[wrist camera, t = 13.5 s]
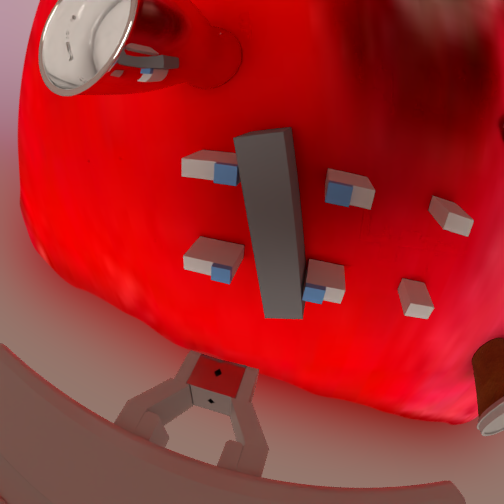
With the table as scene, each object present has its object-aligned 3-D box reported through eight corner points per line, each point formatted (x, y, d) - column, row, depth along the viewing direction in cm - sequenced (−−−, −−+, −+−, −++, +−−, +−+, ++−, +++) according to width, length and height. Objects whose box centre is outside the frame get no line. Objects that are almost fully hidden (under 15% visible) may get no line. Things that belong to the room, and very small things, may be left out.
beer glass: (236, 100, 21) (119, 104, 8) (166, 88, 21) (28, 101, 9) (256, 28, 17) (163, -52, 5) (183, 22, 18) (54, -17, 5)
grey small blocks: (455, 203, 20) (477, 223, 16) (418, 294, 25) (428, 323, 22) (202, 149, 24) (178, 159, 20) (200, 248, 29) (181, 272, 25)
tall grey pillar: (291, 126, 21) (283, 131, 17) (307, 286, 29) (302, 319, 24) (251, 131, 22) (233, 138, 18) (274, 286, 30) (265, 317, 25)
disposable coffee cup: (480, 330, 25) (507, 404, 15) (522, 328, 23) (550, 391, 13) (452, 374, 30) (465, 442, 20) (494, 370, 28) (510, 430, 18)
